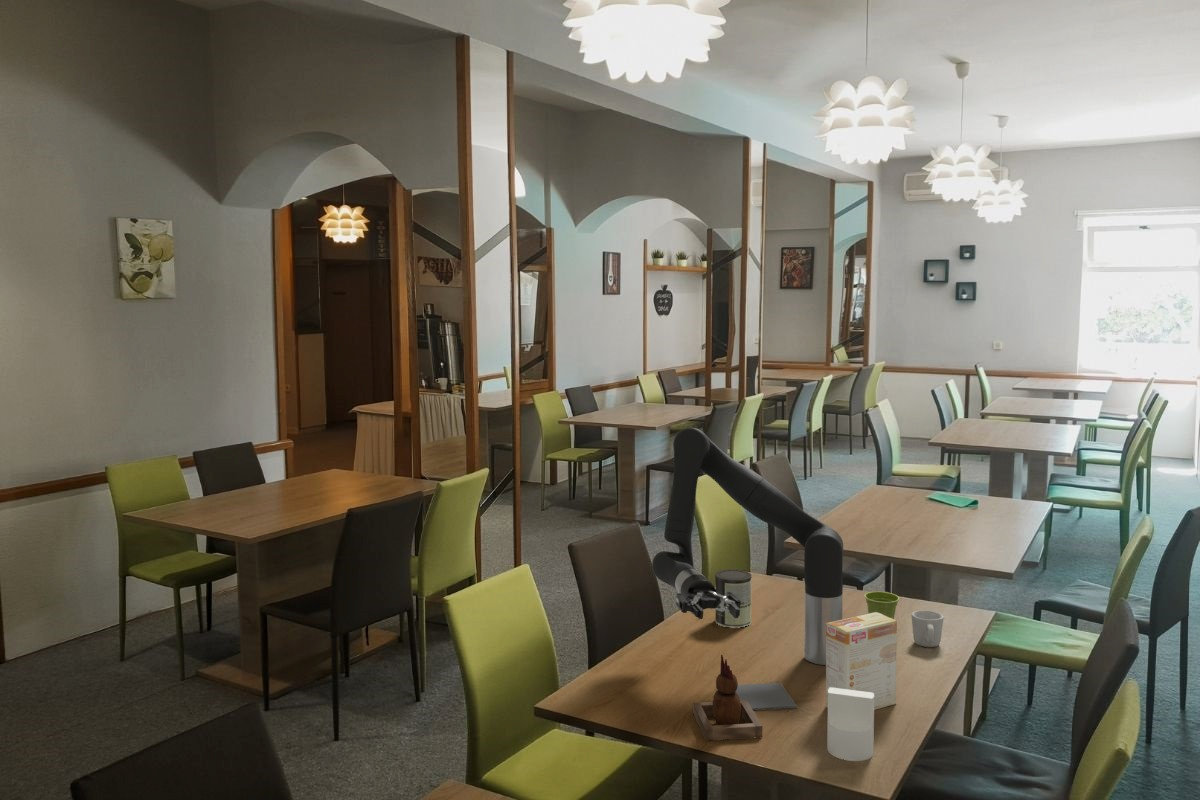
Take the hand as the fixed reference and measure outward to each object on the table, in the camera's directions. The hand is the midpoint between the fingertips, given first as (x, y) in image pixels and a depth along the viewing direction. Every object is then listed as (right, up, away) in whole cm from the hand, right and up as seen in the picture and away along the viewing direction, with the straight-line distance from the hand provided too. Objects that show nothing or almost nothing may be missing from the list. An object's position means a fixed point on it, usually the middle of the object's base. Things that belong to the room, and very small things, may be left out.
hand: (719, 614), depth 205 cm
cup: (+59, -17, +36) cm, 71 cm away
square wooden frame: (0, -22, -9) cm, 23 cm away
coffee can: (+11, -16, +56) cm, 60 cm away
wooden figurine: (0, -22, -9) cm, 24 cm away
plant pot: (+52, -16, +51) cm, 74 cm away
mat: (+10, -20, +5) cm, 23 cm away
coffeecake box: (+32, -21, 0) cm, 38 cm away
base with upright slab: (+24, -23, -20) cm, 39 cm away
